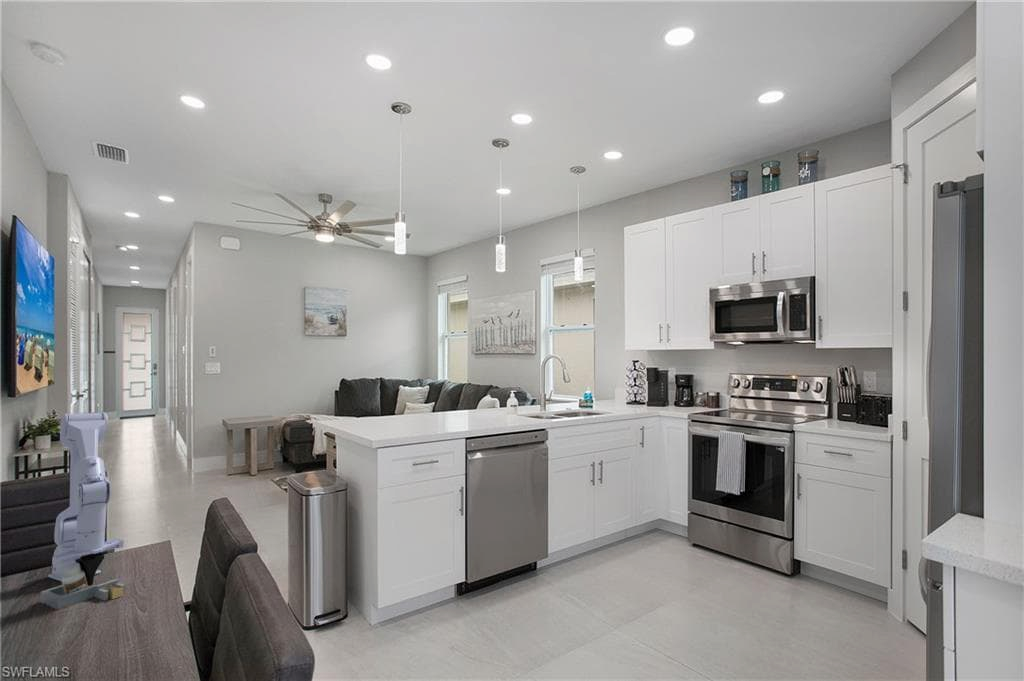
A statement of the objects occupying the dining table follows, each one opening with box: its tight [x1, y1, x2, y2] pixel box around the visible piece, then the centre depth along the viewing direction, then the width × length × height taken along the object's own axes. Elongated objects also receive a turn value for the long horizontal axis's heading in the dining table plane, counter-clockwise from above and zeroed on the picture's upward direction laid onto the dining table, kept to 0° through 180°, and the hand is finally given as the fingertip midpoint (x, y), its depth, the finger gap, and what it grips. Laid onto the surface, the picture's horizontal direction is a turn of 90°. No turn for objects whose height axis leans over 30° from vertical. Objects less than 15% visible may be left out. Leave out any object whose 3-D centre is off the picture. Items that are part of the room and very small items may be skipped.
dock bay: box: [39, 578, 126, 610], centre depth 125 cm, size 12×12×3 cm
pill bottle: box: [60, 563, 89, 595], centre depth 125 cm, size 4×4×8 cm
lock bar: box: [102, 585, 124, 600], centre depth 127 cm, size 6×2×2 cm, turn 66°
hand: (87, 584), depth 127 cm, fingers closed, pressing on pill bottle
